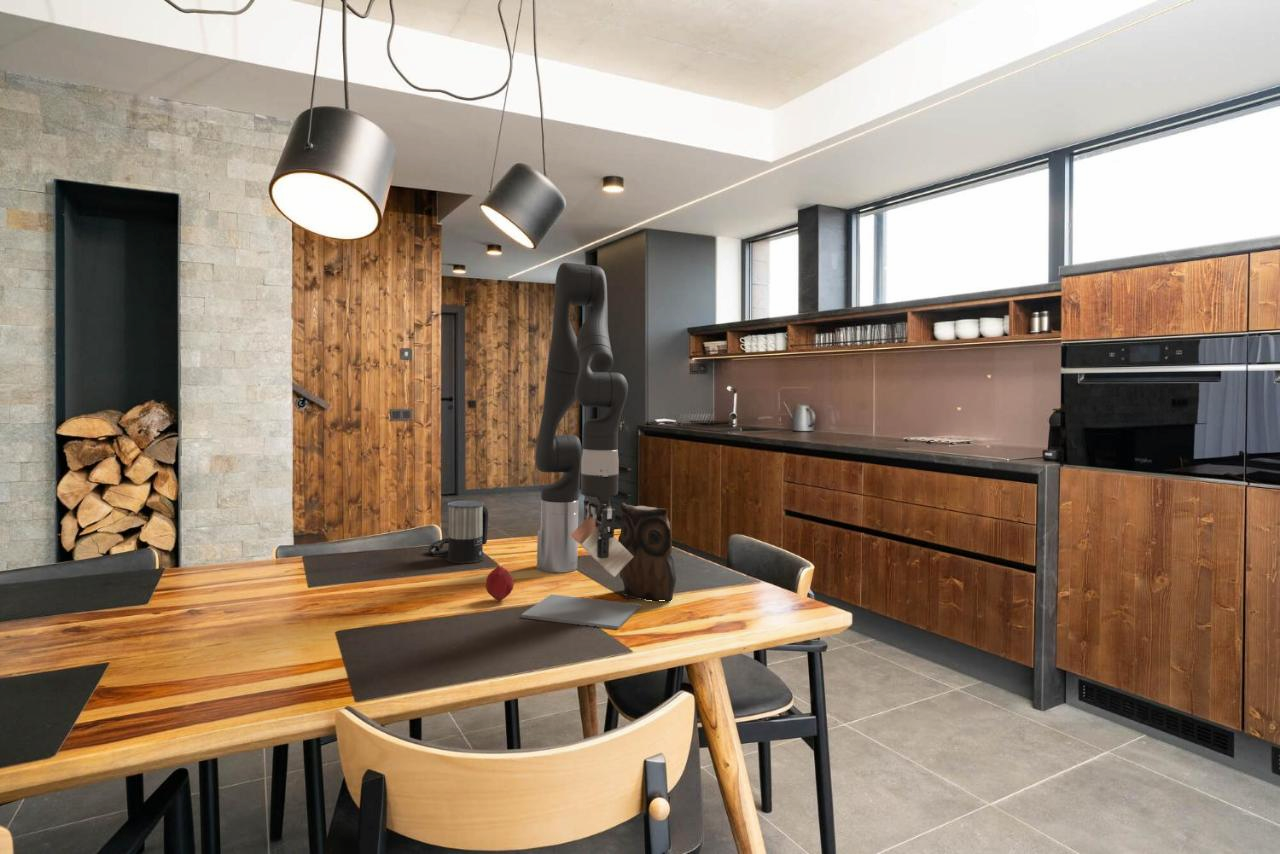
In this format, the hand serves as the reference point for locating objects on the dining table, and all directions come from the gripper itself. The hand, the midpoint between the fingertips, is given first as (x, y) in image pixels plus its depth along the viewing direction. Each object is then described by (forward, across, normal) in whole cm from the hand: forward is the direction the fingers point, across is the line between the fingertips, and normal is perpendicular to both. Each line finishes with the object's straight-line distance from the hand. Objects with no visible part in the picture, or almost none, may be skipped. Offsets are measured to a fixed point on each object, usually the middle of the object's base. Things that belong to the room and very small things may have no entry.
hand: (598, 554), depth 151 cm
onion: (+12, -12, -18) cm, 25 cm away
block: (+2, 0, +5) cm, 5 cm away
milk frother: (+12, -54, -22) cm, 60 cm away
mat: (+12, 0, -3) cm, 12 cm away
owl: (+12, -8, +16) cm, 21 cm away
